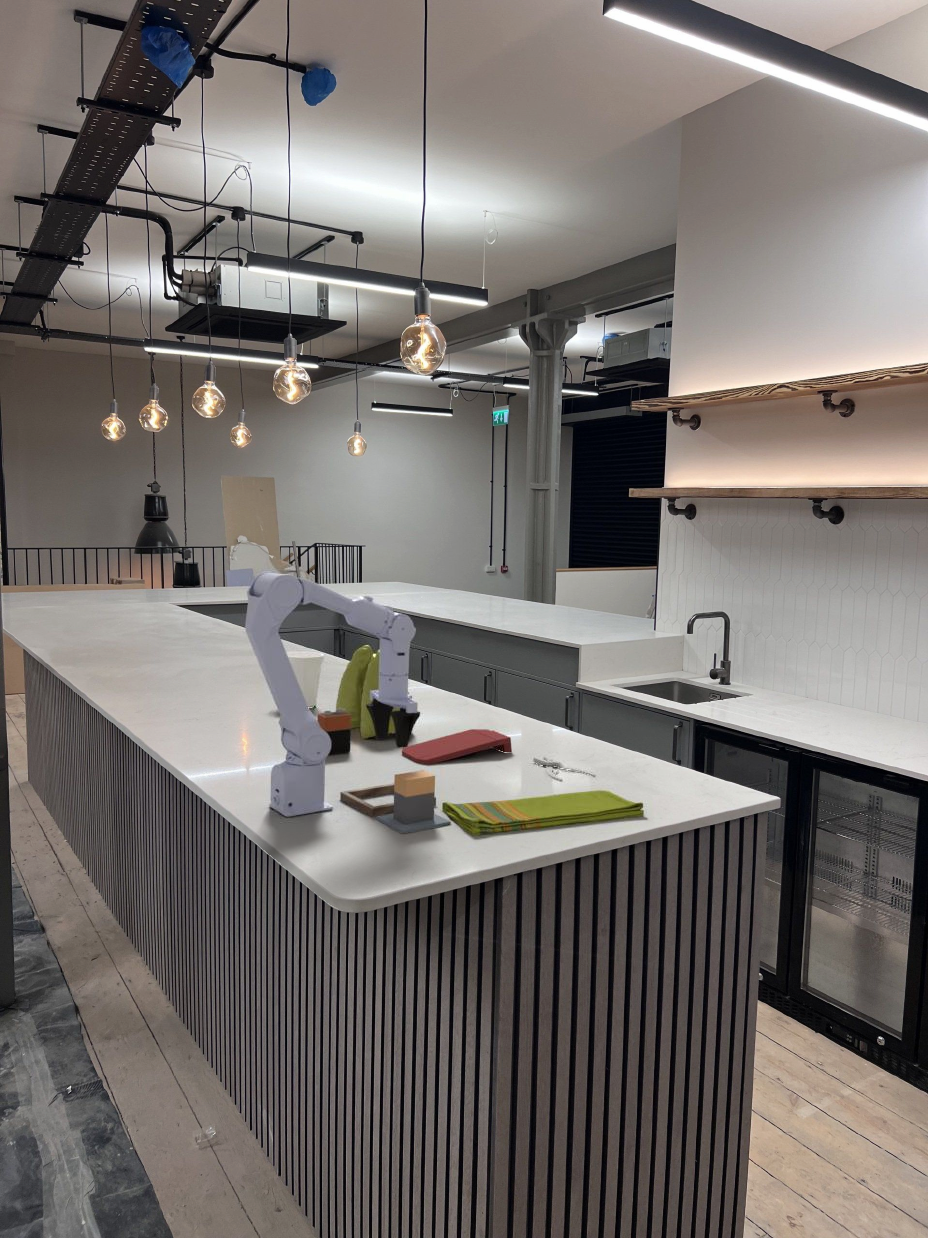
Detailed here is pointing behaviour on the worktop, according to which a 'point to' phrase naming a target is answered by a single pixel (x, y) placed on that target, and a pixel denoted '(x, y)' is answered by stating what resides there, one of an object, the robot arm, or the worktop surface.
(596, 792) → the dish towel
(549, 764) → the pliers
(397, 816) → the orange grey tall block
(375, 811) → the frame
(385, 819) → the mat
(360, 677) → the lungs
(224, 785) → the worktop surface
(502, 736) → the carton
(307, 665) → the cup
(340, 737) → the battery
